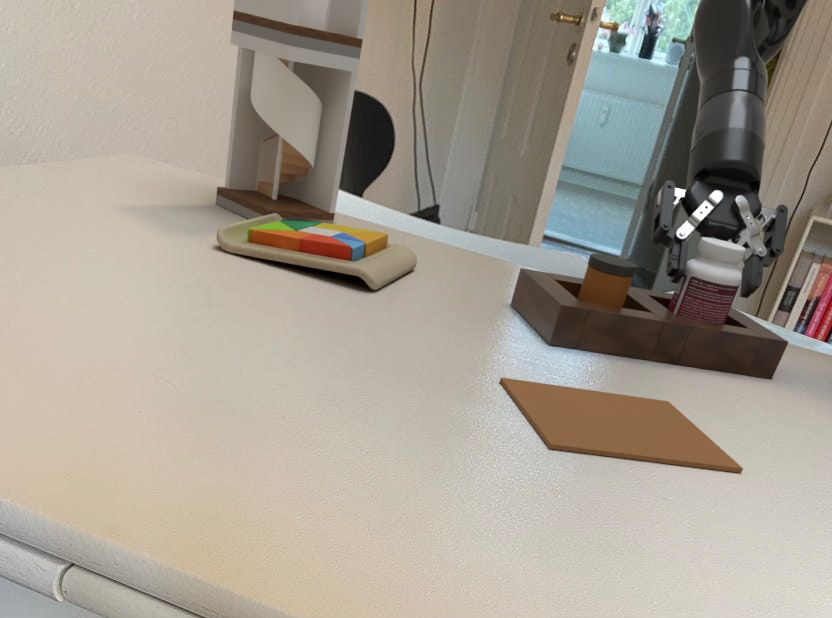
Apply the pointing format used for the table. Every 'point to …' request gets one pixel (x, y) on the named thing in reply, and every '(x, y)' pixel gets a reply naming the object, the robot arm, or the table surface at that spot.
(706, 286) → the pill bottle
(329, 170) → the spiral staircase model
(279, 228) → the wooden puzzle
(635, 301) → the bottle rack
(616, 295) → the spice jar
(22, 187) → the table surface
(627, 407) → the cork mat
